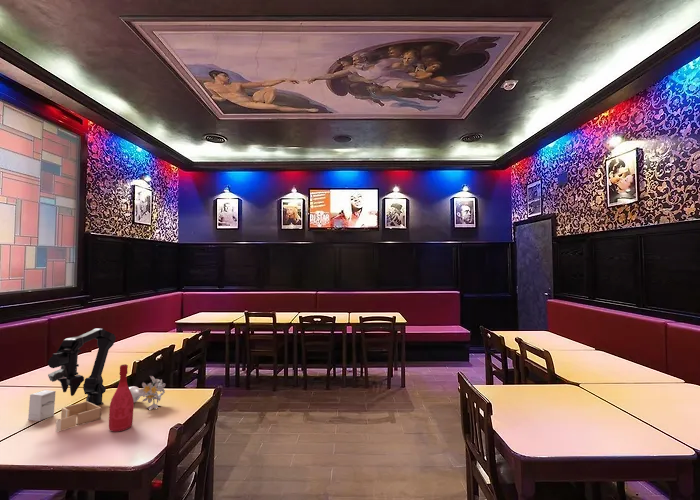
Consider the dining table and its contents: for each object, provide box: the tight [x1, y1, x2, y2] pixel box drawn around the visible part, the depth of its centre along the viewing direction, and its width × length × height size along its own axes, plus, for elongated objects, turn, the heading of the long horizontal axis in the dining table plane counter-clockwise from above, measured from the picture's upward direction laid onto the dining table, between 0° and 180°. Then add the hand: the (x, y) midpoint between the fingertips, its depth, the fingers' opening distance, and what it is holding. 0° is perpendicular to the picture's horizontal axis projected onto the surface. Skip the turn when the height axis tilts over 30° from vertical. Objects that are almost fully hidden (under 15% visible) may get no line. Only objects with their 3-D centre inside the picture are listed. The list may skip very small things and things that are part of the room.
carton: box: [63, 400, 102, 427], centre depth 180 cm, size 10×16×6 cm, turn 58°
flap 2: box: [55, 415, 77, 433], centre depth 167 cm, size 1×8×5 cm, turn 149°
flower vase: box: [128, 375, 166, 411], centre depth 199 cm, size 13×18×25 cm
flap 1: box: [60, 407, 70, 419], centre depth 177 cm, size 1×7×5 cm, turn 58°
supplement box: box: [27, 389, 56, 422], centre depth 180 cm, size 7×7×13 cm
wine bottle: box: [108, 364, 135, 433], centre depth 170 cm, size 10×10×30 cm
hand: (68, 393), depth 181 cm, fingers open, 9 cm apart
